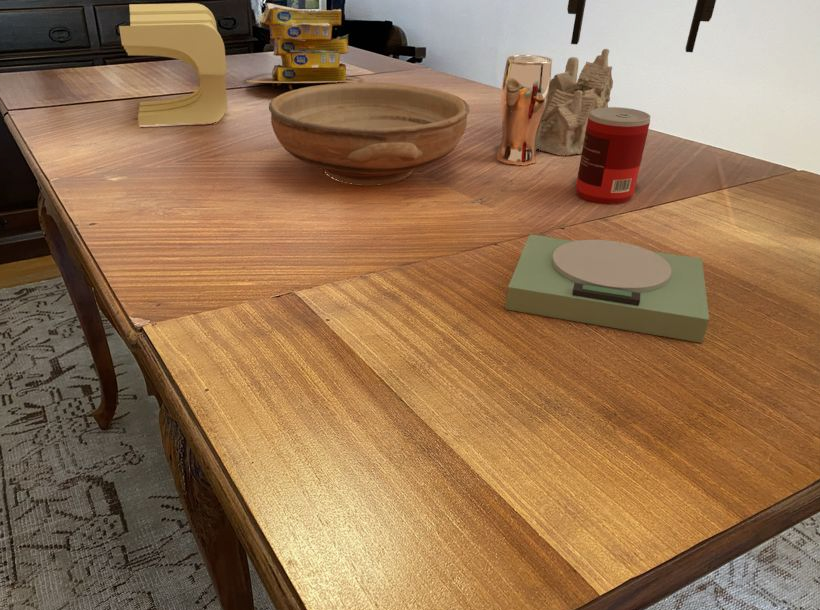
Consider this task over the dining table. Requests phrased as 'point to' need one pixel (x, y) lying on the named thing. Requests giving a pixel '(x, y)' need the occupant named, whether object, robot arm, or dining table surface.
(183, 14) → the yellow c-shaped bracket
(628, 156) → the canned food
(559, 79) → the ceramic cottage
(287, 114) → the ceramic bowl
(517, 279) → the kitchen scale
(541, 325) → the dining table surface
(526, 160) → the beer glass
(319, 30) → the stacked yellow boxes
